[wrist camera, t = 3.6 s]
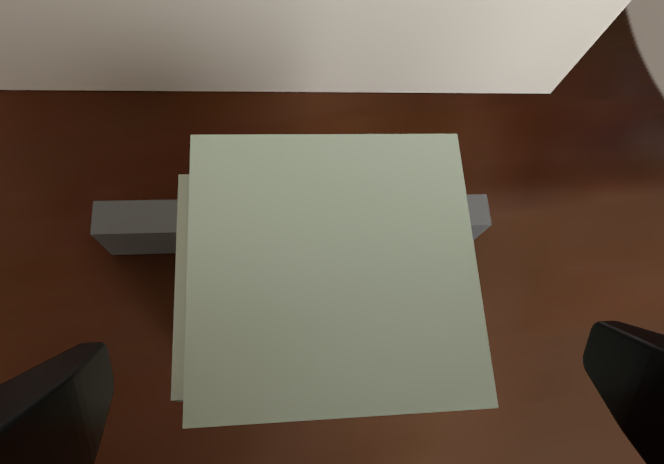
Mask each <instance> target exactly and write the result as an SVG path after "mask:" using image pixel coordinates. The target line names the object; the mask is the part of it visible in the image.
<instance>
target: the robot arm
mask: <svg viewBox="0 0 664 464" xmlns="http://www.w3.org/2000/svg"><path fill="white" fill-rule="evenodd" d="M583 364H584V368H585V370H586V372H587V374H588V375H589V377H590V379H591V380H592V382H593V384H594V385H595V387H596V389H597V390H598V392H599V394H600V395H601V397H602V399H603V400H604V402H605V404H606V405H607V407H608V409H609V410H610V412H611V414H612V415H613V417H614V419H615V420H616V422H617V423H618V425H619V427H620V428H621V430H622V431H623V433H624V434H625V435H626V437H627V438H628V440H629V441H630V442H631V444H632V445H633V446H634V448H635V449H636V450H637V452H638V453H639V454H640V456H641V457H642V458H643V460H644V461H645V462H646V464H664V335H663V334H659V333H656V332H653V331H649V330H646V329H642V328H639V327H636V326H632V325H629V324H625V323H622V322H619V321H599V322H596V323H595V324H594V325H593V326H592V328H591V331H590V334H589V338H588V341H587V344H586V347H585V351H584V354H583ZM113 391H114V378H113V373H112V368H111V362H110V357H109V352H108V348H107V346H106V344H105V343H103V342H94V343H81V344H78V345H76V346H74V347H73V348H71V349H69V350H67V351H65V352H63V353H61V354H59V355H57V356H55V357H53V358H51V359H49V360H47V361H45V362H43V363H41V364H39V365H37V366H36V367H34V368H32V369H30V370H28V371H26V372H24V373H22V374H20V375H18V376H16V377H14V378H12V379H10V380H8V381H6V382H4V383H2V384H0V464H94V462H95V459H96V456H97V452H98V448H99V445H100V441H101V437H102V434H103V430H104V426H105V422H106V419H107V415H108V411H109V408H110V404H111V400H112V396H113Z"/></svg>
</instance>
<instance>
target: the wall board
mask: <svg viewBox="0 0 664 464" xmlns="http://www.w3.org/2000/svg"><path fill="white" fill-rule="evenodd" d="M630 1H631V0H0V90H85V91H237V92H389V93H541V94H550V93H551V92H552V91H553V90H554V88H555V87H556V86H557V85H558V84H559V83H560V82H561V80H562V79H563V78H564V77H565V76H566V75H567V74H568V72H569V71H570V70H571V69H572V68H573V67H574V66H575V64H576V63H577V62H578V61H579V60H580V59H581V57H582V56H583V55H584V54H585V53H586V52H587V51H588V49H589V48H590V47H591V46H592V45H593V44H594V43H595V41H596V40H597V39H598V38H599V37H600V36H601V35H602V33H603V32H604V31H605V30H606V29H607V28H608V26H609V25H610V24H611V23H612V22H613V21H614V20H615V18H616V17H617V16H618V15H619V14H620V13H621V12H622V10H623V9H624V8H625V7H626V6H627V5H628V4H629V2H630ZM466 196H467V202H468V209H469V216H470V222H471V229H472V235H473V240H474V239H476V238H477V237H478V236H479V235H480V234H481V233H483V232H484V231H485V230H486V229H487V228H489V227H490V226H491V225H492V224H491V218H490V212H489V206H488V200H487V194H483V195H466ZM177 203H178V200H123V201H93V208H92V220H91V231H90V235H91V236H92V237H93V238H95V239H96V240H97V241H98V242H99V243H100V244H101V245H102V246H103V247H104V248H105V249H106V250H107V251H108V252H109V253H110V254H111V255H132V254H167V253H176V233H177Z"/></svg>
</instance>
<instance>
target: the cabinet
mask: <svg viewBox="0 0 664 464" xmlns="http://www.w3.org/2000/svg"><path fill="white" fill-rule="evenodd" d="M171 401H180V402H183V429H185V428H200V427H216V426H231V425H246V424H261V423H276V422H292V421H307V420H322V419H337V418H352V417H368V416H383V415H398V414H413V413H428V412H444V411H459V410H474V409H489V408H498V402H497V395H496V388H495V382H494V375H493V368H492V362H491V355H490V348H489V342H488V335H487V328H486V322H485V315H484V309H483V302H482V295H481V289H480V282H479V275H478V269H477V262H476V255H475V249H474V242H473V235H472V229H471V222H470V216H469V209H468V202H467V196H466V189H465V182H464V176H463V169H462V162H461V156H460V149H459V142H458V136H457V134H240V135H190V172H189V174H178V203H177V233H176V262H175V291H174V320H173V350H172V379H171Z"/></svg>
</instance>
